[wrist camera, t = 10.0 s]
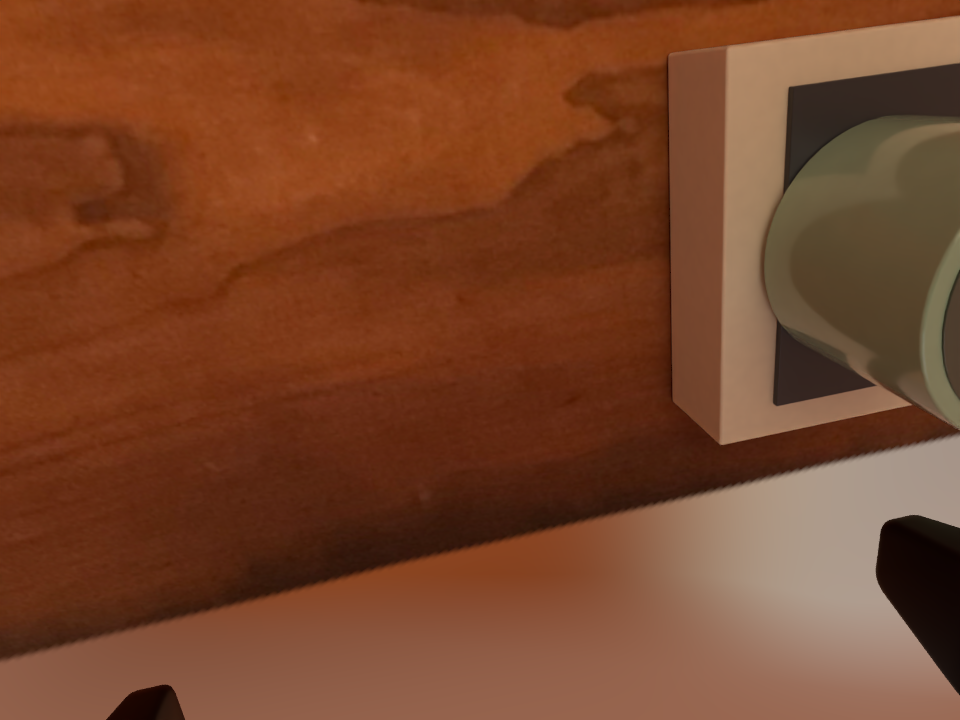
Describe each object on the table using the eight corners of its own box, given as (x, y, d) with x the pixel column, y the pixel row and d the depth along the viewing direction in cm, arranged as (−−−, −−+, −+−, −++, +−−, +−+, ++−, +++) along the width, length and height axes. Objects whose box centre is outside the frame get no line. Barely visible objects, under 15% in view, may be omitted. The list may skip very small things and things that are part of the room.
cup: (1004, 269, 18) (1232, 330, 14) (812, 396, 18) (970, 499, 14) (945, 61, 16) (1198, 47, 11) (725, 211, 16) (881, 259, 11)
